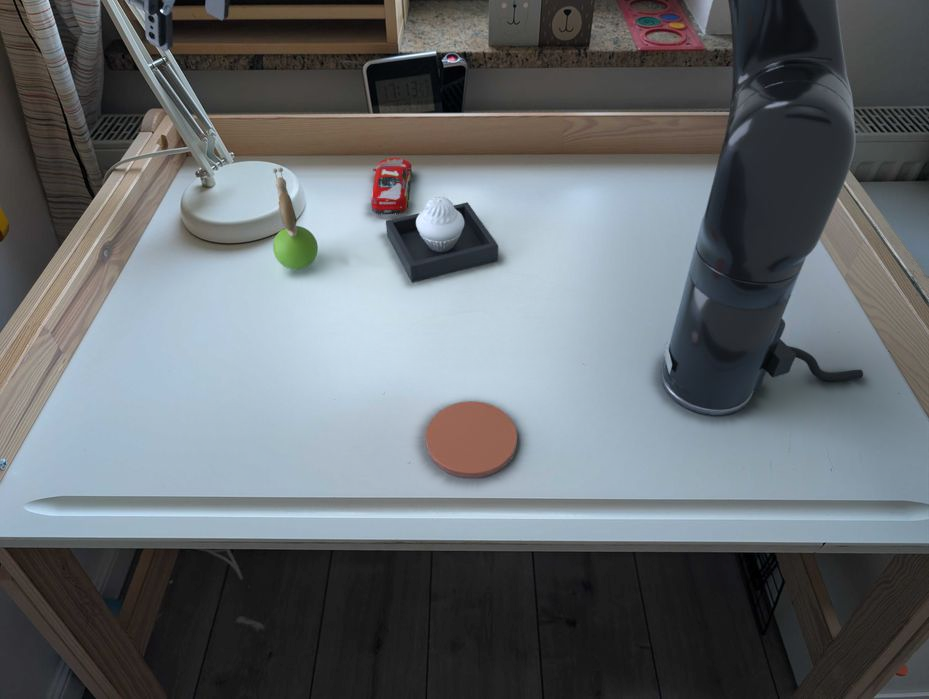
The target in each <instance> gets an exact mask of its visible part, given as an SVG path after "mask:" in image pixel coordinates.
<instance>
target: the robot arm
mask: <svg viewBox="0 0 929 699" xmlns="http://www.w3.org/2000/svg"><path fill="white" fill-rule="evenodd" d="M124 1H125V2H126V3H128V4H130V5H132V6H133V7H135V8H137V9H139V10H141V11H143V12H144V29H145V31H144V32H145V38H146V40H147V41H148V42H149V43H150V44H151V45H152V46H153V47H156V48H158V49H159V50H162V52H163V51H164V52H167V51H169V50H171V49H172V48H173V45H174V43H173V41H174V40H173V12H172V9H173V7H174V5H175V3H176V0H124ZM230 1H231V0H205V5H204V6H205V7H204V8H205V11H206V13H207V14H208V15H210V16H212V17H214V18H215V19H217V20H220V21H224V20H226V19H227V18H228V17H229V10H230V3H231V2H230ZM727 3H728V7H729V13H730V15H729V16H730V25H731V44H732V45H731V48H732V51H731V52H732V85H731V86H732V88H731V101H730V106H729V113H728V118H727V122H726V127H725V131H724V132H725V133H724V137H723V142H722V146H721V149H720V153H719V156H718V160H717V163H716V164H717V165H716V169H715V173H714V176H713V180H712V184H711V188H710V192H709V196H708V200H707V203H706V207H705V210H704V214H703V216H702V219H701V222H700V225H699V230H698V234H697V237H696V242H695V245H694V249H693V253H692V256H691V260H690V264H689V269H688V273H687V277H686V280H685V284H684V288H683V291H682V295H681V298H680V303H679V307H678V311H677V314H676V318H675V321H674V325H673V330H672V333H671V337H670V341H669V345H668V341H666V342H665V344H664V345H665V346H664V349H663V354H664V359H665V360H664V362H663V363H662V367H661V373H660V378H661V383H662V386H663V388H664V390H665V391H666V393H667V394H668V396H670V397H671V398H672V399H673V400H674V401H675V402H676V403H678V404H679V405H681V406H683V407H684V408H686V409H688V410H690V411H693V412H696V413H699V414H703V415H710V416H723V415H729V414H733V413H737V412H738V411H740V410H742V409H743V408H745V407H746V406H747V404H749V402H750V401H751V398H752V397H753V394H754V393H755V392H758V391H760V389H761V387H762V384H763V383H764V379H765V377H766V374H768V375H769V376H770V377H771V378H772V379H773V378H776V377H779V376H782V375H786V374H789V373H790V371H791V369H792V366H793V364H794V362H795V359H799V360H801V361H803V362H804V363H805V364H806V365H807V367H808V369H809V371H810V373H811V374H812V375H813V376H814V377H815V378H817V379H819V380H821V381H825V382H842V381H848V380H857V379H862V378H863V377H864V372H863V370H862V369H851V370H844V371H843V370H842V371H837V372H836V371H835V372H829V371H825V370H822V369H821V367H820V365H819V363H818V361H817V360H816V358H815V357H814V356H813V355H812V354H810V353H809V352H807V351H805V350H803V349H801V348H797V347H795V346H790V345H787V344H786V343H785V341H783V340H782V339H781V338H782V335H783V333H784V330H785V328H786V321H785V320H784V318H783V316H784V315H785V311H786V309H787V307H788V304H789V301H790V299H791V296H792V293H793V291H794V289H795V286H796V284H797V281H798V279H799V276H800V274H801V271H802V267H803V266H804V264H805V262H806V259H807V257H808V256H809V255H810V254H811V253H812V252H813V250H814V249H815V248H816V247H817V245H818V243H819V241H820V239H821V237H822V235H823V233H824V230H825V229H826V225H827V223H828V221H829V219H830V217H831V214H832V212H833V210H834V207H835V205H836V204H837V200H838V198H839V196H840V194H841V191H842V190H843V187H844V184H845V182H846V179H847V177H848V175H849V172H850V169H851V166H852V162H853V160H854V155H855V151H856V144H857V143H856V142H857V141H856V137H857V136H856V121H855V107H854V106H855V105H854V101H853V94H852V93H853V92H852V89H851V85H850V80H849V77H848V71H847V66H846V60H845V53H844V47H843V38H842V33H841V23H840V15H839V14H840V13H839V6H838V0H727Z"/></svg>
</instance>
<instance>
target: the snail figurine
mask: <svg viewBox="0 0 929 699" xmlns="http://www.w3.org/2000/svg"><path fill="white" fill-rule="evenodd" d="M283 171H284V169H283V167H278V168H273V169H272V173H274V175H275V178H276V180H275V181H274V183H275V187H276V189H277V196H278V210H279V214H280V218H281V222H282V224H283V226H284V228H283V229H281V230H280V231H279V232H278V233H277V234H276V236H275V237H274V240H273V245H272V250H273V254H274V256H275V259H276V260H277V262H278V263H279V264H280V265H282V266H283V267H285V268H287V269H289V270H294V271H295V270H296V271H297V270H303V269H305V268H307V267H309V266H310V265H312V264H313V262H314V261H315V260H316V257H317V255H318V251H319V246H318V245H319V244H318V242H317V239H316V237H315V235H314V234H313V233H312V232H311V231H310V230H309V229H308V228H306V227H304V226H300V225H297V222H298V219H297V216H296V213H295V212H296V211H295V209H294V206H293V202H292V198H291V196H290V194H289V192H288V189H287V182H286V180H285V179H284V178H283V174H282V172H283ZM278 172H279V173H280V175H281V176H279V177H278V176H277V173H278Z"/></svg>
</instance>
